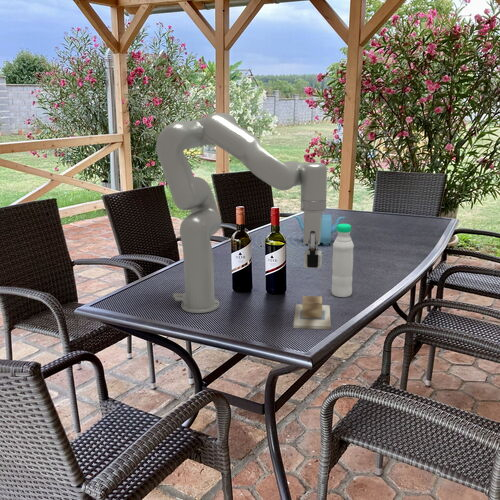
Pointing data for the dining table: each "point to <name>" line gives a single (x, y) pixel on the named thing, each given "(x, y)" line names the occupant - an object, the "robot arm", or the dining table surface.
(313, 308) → the oak block
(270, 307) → the dining table surface
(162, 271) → the dining table surface
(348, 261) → the water bottle
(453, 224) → the dining table surface
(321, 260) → the grey block
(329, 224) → the teakettle
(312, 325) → the board
